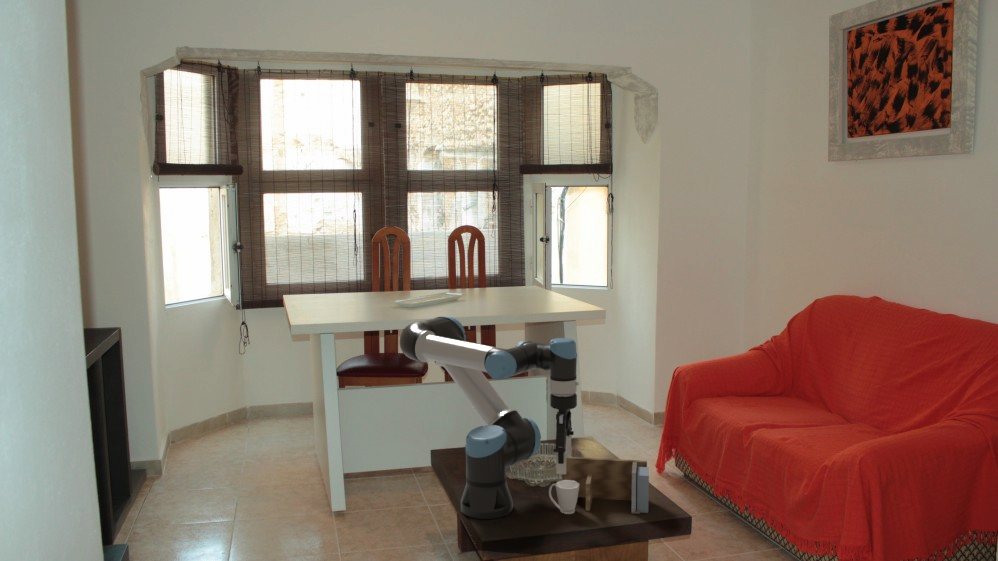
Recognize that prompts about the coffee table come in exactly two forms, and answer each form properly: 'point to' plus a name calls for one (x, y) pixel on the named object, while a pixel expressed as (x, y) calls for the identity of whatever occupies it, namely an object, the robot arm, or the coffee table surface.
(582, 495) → the shelf wall
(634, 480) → the bookend
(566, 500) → the cup
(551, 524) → the coffee table surface
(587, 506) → the divider
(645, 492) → the shelved book
